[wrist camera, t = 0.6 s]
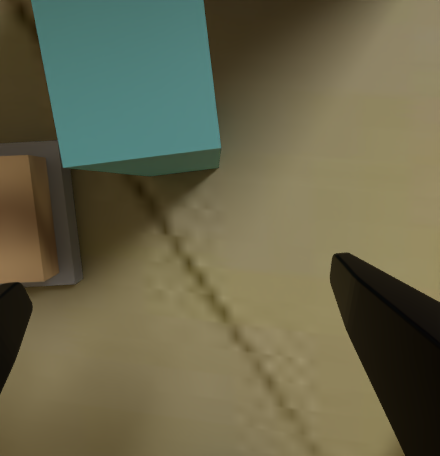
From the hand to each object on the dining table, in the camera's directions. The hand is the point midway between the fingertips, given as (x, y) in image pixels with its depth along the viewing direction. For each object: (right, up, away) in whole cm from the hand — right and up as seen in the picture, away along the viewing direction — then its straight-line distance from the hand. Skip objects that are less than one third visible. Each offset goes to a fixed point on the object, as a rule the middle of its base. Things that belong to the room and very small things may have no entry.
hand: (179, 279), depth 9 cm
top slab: (-14, +2, +13) cm, 19 cm away
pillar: (-2, +8, +13) cm, 16 cm away
